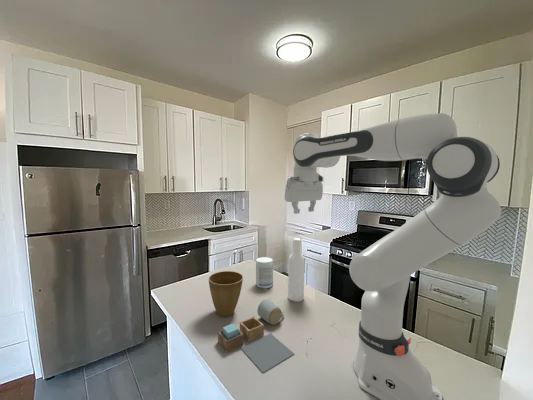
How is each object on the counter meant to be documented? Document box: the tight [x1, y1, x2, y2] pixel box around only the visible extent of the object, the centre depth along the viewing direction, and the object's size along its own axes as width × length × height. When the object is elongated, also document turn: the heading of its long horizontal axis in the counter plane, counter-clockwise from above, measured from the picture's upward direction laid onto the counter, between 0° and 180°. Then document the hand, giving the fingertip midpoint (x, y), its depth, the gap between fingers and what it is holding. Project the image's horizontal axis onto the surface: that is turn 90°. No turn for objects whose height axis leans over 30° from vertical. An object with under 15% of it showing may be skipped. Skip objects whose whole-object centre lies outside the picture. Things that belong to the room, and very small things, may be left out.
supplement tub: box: [255, 256, 274, 289], centre depth 129 cm, size 10×10×15 cm
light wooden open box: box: [239, 316, 265, 343], centre depth 88 cm, size 7×7×4 cm
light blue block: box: [222, 323, 239, 340], centre depth 82 cm, size 4×4×6 cm
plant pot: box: [208, 270, 244, 318], centre depth 102 cm, size 15×15×16 cm
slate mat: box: [240, 333, 295, 374], centre depth 78 cm, size 13×13×1 cm
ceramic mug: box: [257, 298, 285, 325], centre depth 97 cm, size 11×8×8 cm
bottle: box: [287, 237, 305, 302], centre depth 114 cm, size 8×8×30 cm
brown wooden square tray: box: [217, 328, 244, 353], centre depth 82 cm, size 7×7×4 cm
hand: (304, 212), depth 91 cm, fingers open, 8 cm apart
